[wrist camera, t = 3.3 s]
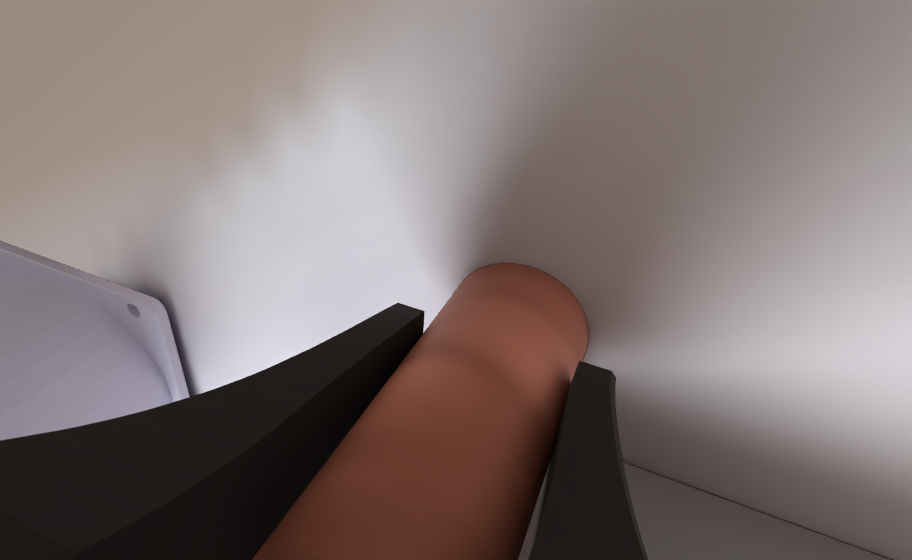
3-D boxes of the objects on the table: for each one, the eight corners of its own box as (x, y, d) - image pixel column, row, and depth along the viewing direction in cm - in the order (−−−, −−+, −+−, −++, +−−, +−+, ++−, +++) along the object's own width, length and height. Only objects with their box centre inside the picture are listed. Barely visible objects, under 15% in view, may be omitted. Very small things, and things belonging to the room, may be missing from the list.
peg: (448, 356, 14) (264, 636, 8) (458, 246, 12) (233, 508, 6) (572, 399, 13) (461, 744, 7) (604, 287, 11) (488, 632, 5)
